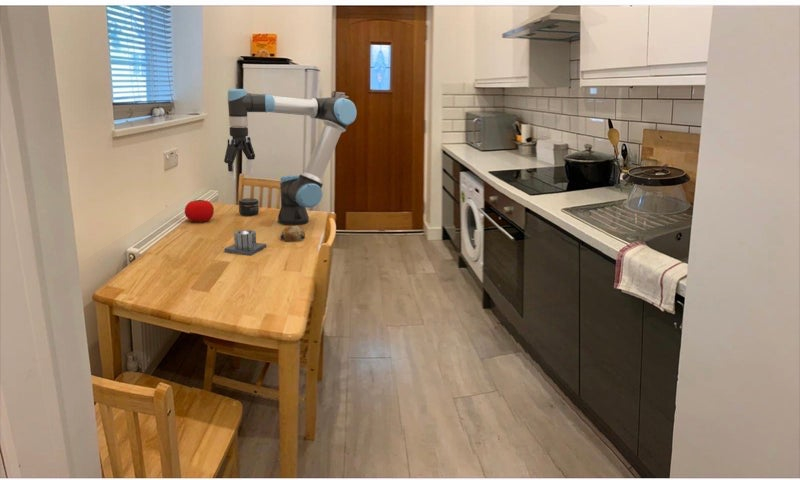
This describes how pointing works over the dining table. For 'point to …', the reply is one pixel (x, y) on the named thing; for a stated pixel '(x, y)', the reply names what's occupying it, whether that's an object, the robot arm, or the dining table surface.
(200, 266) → the dining table surface
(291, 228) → the bread roll
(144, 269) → the dining table surface
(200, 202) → the tomato
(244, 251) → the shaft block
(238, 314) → the dining table surface
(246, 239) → the tube
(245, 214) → the jar
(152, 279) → the dining table surface
